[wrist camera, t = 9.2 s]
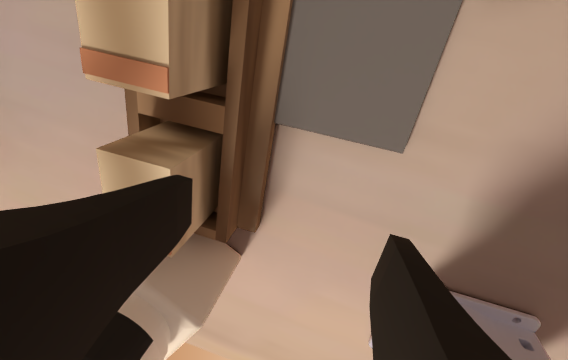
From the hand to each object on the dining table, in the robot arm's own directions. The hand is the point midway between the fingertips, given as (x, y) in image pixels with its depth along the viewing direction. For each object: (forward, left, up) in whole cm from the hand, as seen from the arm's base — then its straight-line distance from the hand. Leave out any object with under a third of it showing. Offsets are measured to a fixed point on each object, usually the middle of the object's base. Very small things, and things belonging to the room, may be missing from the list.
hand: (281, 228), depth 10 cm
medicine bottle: (+9, +12, -10) cm, 18 cm away
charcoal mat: (-1, -6, -9) cm, 11 cm away
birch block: (+8, -6, -8) cm, 13 cm away
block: (+8, +3, -8) cm, 12 cm away
